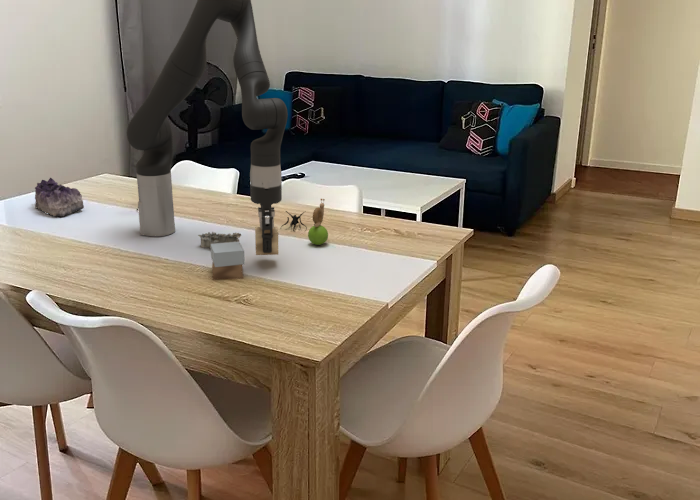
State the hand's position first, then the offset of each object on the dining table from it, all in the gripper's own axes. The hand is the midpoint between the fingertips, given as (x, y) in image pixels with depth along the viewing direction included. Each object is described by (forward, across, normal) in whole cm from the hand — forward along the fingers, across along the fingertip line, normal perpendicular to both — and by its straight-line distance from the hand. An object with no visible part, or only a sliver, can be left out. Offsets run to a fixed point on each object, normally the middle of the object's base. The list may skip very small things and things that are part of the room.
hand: (266, 248), depth 181 cm
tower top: (+1, +6, -10) cm, 11 cm away
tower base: (+4, +6, -10) cm, 12 cm away
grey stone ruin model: (+5, -15, -12) cm, 20 cm away
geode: (+6, -57, -64) cm, 86 cm away
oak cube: (+1, 0, 0) cm, 1 cm away
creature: (+5, -29, +9) cm, 30 cm away
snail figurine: (+4, -14, +14) cm, 21 cm away
